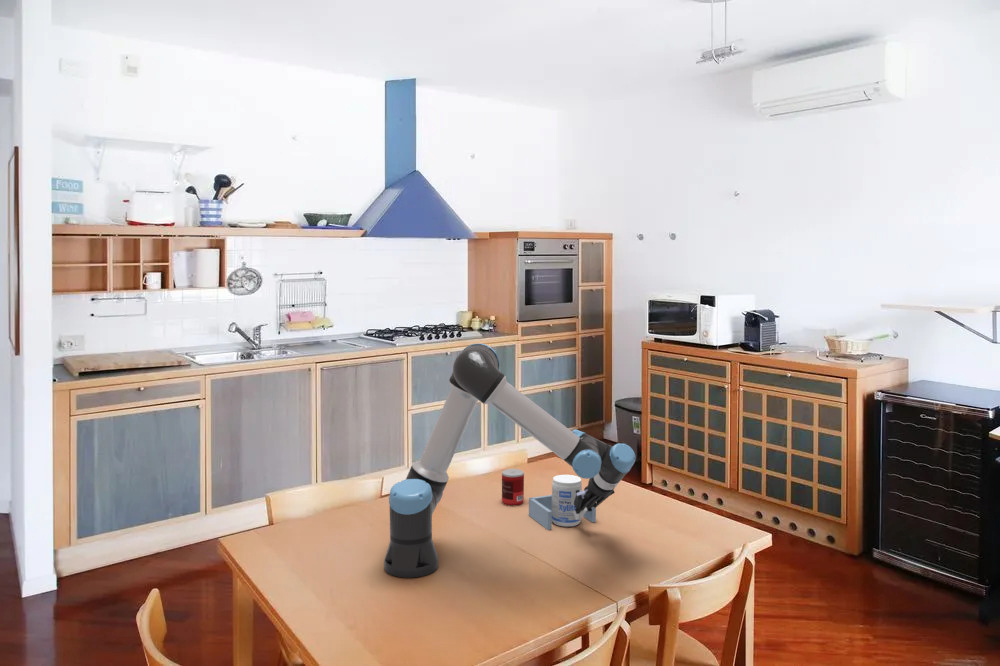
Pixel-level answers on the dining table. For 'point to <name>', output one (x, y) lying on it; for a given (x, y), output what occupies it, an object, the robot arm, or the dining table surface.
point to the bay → (549, 511)
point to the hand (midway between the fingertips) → (576, 515)
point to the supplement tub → (565, 499)
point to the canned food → (512, 487)
